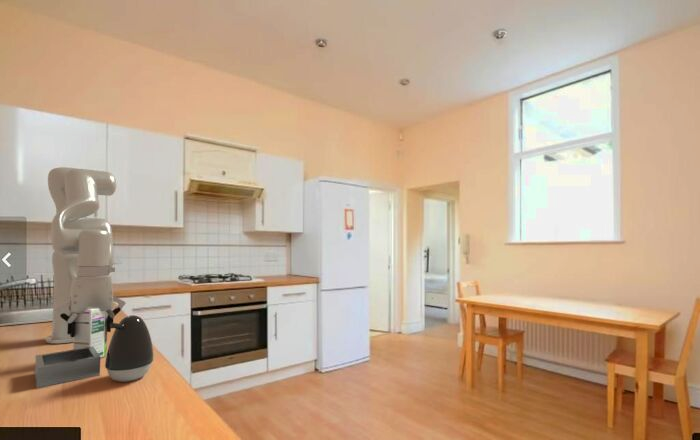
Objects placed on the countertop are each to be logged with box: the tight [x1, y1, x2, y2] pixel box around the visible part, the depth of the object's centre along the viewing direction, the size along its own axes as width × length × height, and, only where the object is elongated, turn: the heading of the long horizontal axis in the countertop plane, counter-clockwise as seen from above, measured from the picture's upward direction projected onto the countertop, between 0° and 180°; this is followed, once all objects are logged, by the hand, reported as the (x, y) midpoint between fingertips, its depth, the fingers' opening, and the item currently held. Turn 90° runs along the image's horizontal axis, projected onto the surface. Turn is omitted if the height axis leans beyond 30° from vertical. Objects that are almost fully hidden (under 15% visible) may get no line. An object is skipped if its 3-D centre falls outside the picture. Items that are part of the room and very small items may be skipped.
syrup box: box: [72, 308, 108, 359], centre depth 104 cm, size 6×6×14 cm
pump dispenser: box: [104, 315, 155, 383], centre depth 90 cm, size 10×10×15 cm
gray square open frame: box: [34, 346, 101, 389], centre depth 91 cm, size 12×12×4 cm
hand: (90, 333), depth 104 cm, fingers closed on syrup box, 8 cm apart
